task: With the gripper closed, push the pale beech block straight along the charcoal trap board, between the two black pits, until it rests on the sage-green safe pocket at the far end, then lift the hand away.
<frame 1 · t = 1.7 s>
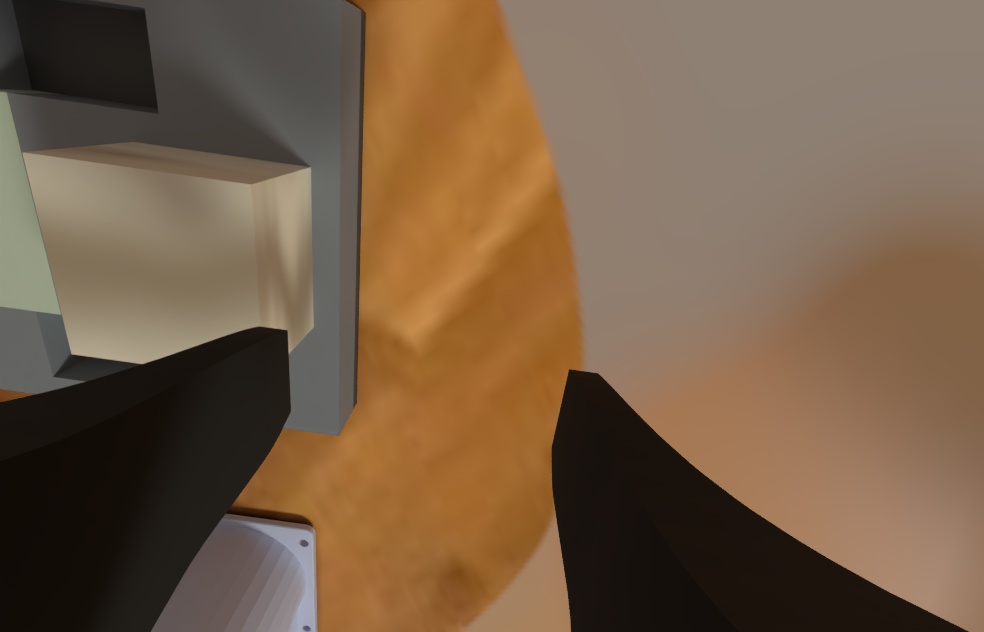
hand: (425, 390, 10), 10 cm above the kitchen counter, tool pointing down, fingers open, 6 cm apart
trap board: (141, 208, 20), on the kitchen counter
beech block: (229, 241, 18), point 2 cm above the kitchen counter, touching trap board
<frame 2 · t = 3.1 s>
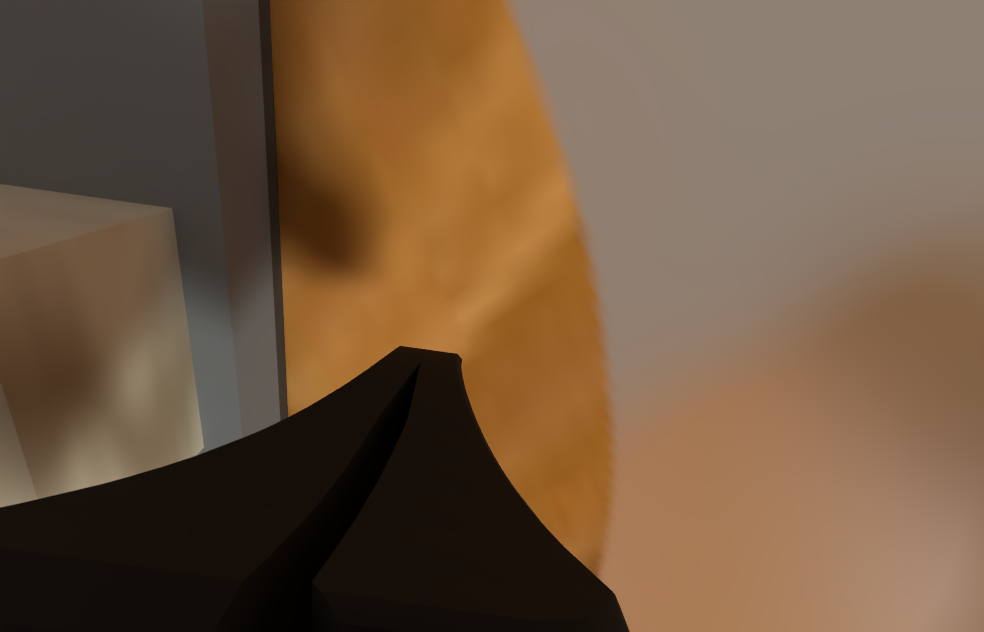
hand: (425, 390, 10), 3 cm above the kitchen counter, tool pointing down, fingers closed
beech block: (57, 322, 11), point 2 cm above the kitchen counter, touching trap board
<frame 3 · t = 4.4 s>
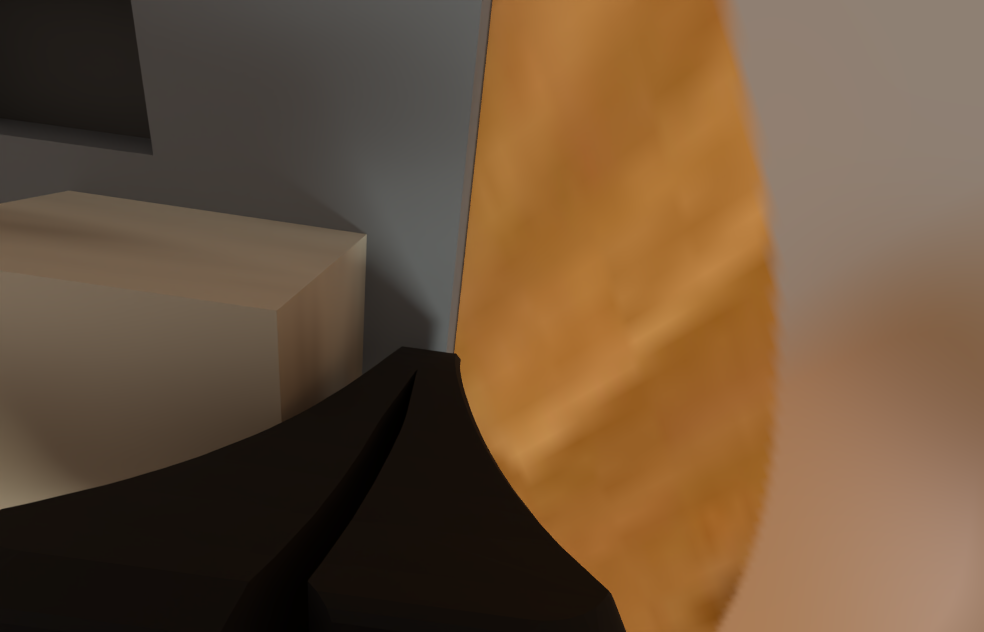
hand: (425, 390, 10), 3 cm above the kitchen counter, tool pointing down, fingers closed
trap board: (128, 284, 13), on the kitchen counter
beech block: (230, 344, 11), point 3 cm above the kitchen counter, touching gripper
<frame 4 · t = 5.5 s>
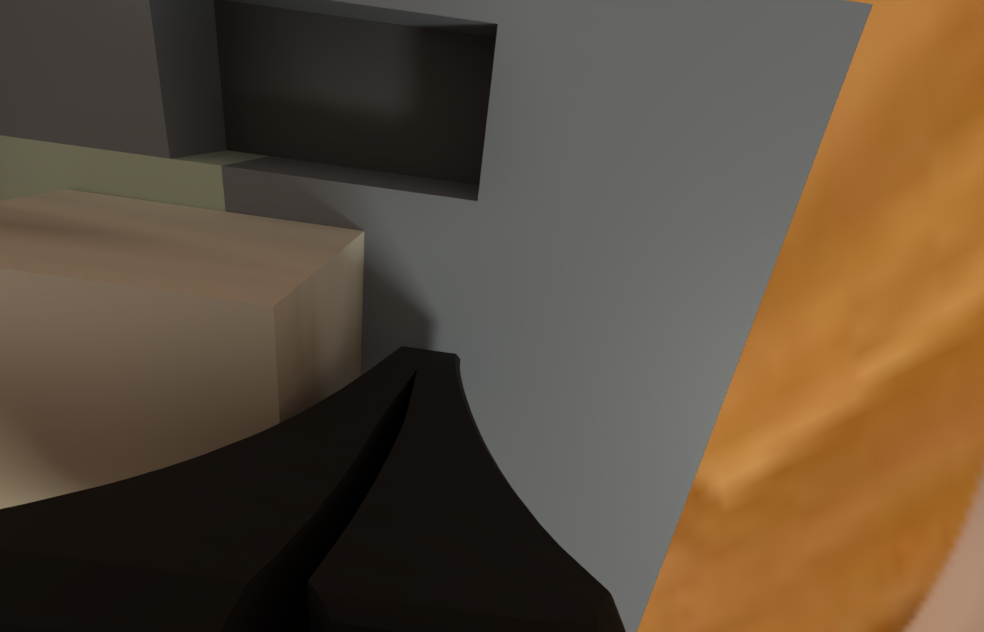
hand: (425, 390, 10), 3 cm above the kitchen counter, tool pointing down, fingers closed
trap board: (358, 316, 13), on the kitchen counter
beech block: (228, 342, 11), point 3 cm above the kitchen counter, touching gripper
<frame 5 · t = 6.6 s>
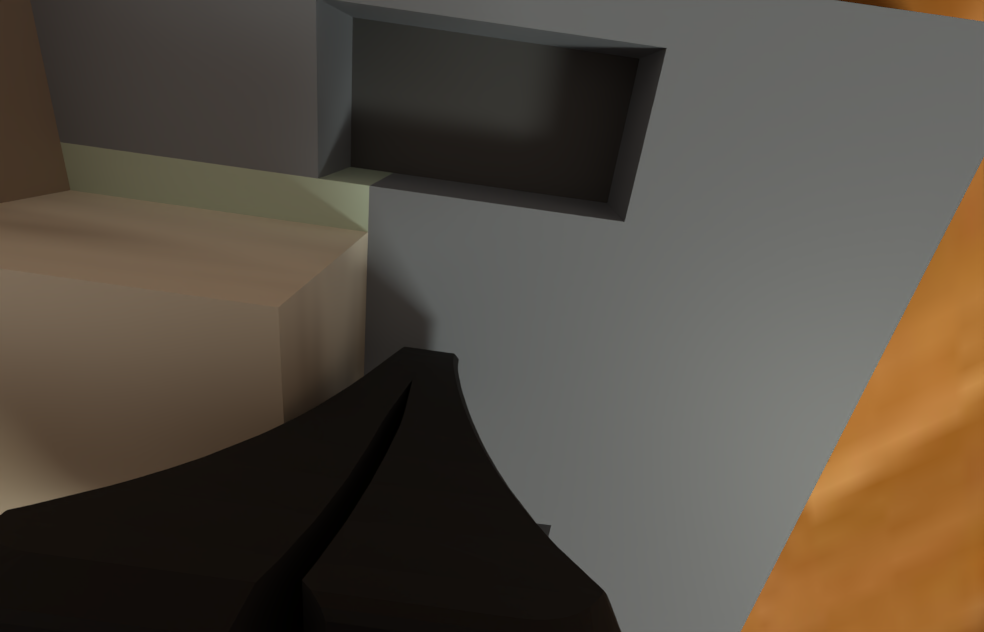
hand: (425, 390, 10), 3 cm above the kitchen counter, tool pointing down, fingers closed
trap board: (463, 330, 13), on the kitchen counter
beech block: (232, 343, 11), point 3 cm above the kitchen counter, touching gripper, trap board
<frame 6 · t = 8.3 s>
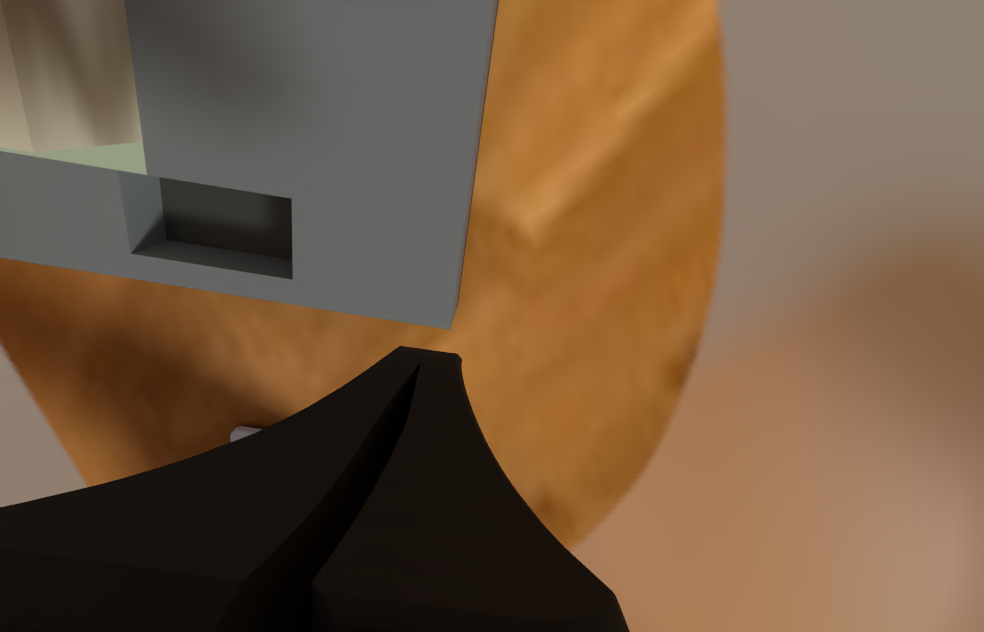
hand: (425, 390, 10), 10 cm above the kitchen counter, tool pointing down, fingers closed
trap board: (236, 60, 17), on the kitchen counter
beech block: (32, 24, 15), point 2 cm above the kitchen counter, touching trap board
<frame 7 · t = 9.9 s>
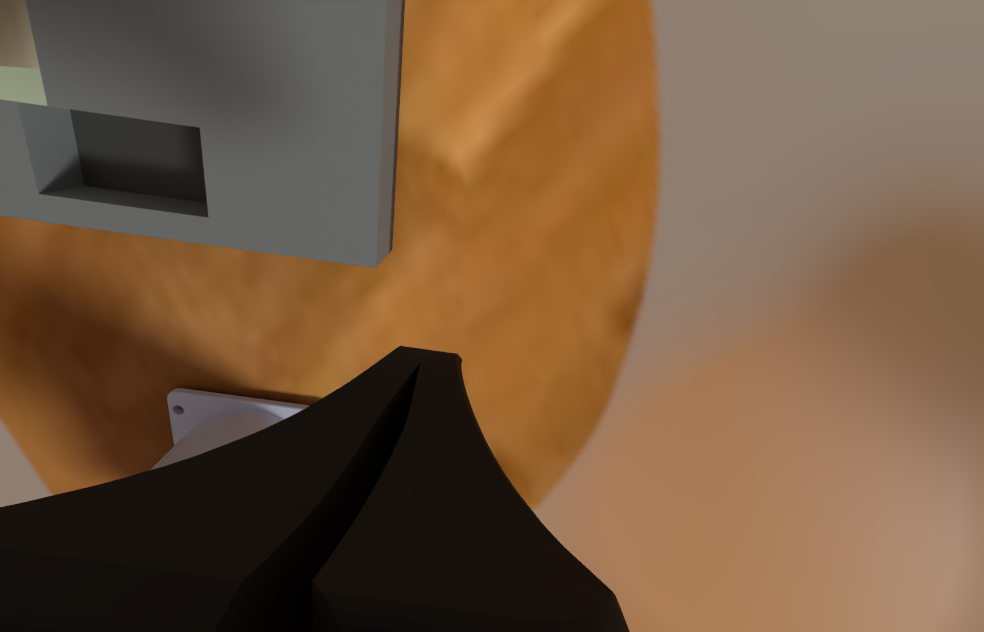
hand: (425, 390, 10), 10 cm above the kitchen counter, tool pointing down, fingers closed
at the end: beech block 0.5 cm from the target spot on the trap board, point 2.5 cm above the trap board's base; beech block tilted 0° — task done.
